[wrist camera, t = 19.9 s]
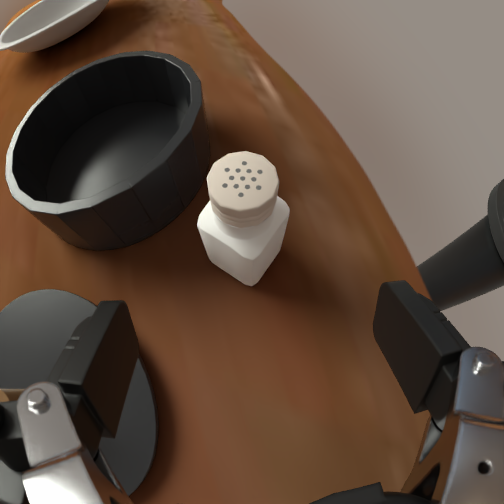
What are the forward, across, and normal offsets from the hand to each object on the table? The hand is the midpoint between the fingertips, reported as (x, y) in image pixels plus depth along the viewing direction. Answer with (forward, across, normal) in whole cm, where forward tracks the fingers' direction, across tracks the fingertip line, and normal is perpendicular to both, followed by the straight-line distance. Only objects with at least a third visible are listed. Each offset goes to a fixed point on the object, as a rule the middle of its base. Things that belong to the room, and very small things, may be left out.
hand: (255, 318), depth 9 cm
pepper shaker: (+13, 0, +4) cm, 13 cm away
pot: (+19, +11, -3) cm, 22 cm away
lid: (+4, +15, +11) cm, 19 cm away
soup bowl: (+43, +29, -27) cm, 58 cm away
